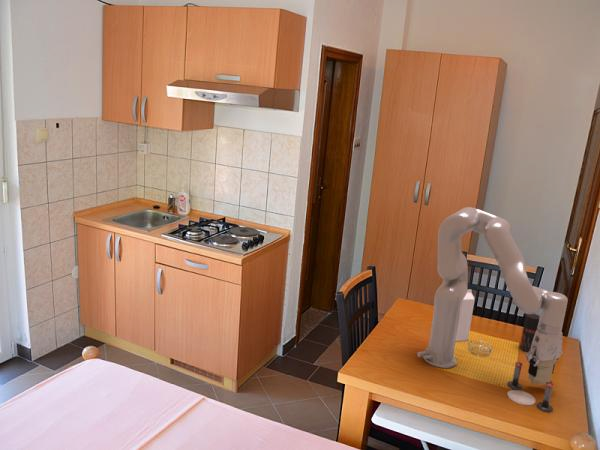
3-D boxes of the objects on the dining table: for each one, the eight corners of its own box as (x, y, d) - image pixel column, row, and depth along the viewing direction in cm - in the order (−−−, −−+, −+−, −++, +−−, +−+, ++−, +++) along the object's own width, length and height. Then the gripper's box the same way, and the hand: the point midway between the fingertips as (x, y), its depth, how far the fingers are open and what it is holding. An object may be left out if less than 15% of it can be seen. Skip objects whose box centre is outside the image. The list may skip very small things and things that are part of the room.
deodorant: (532, 354, 216) (539, 320, 212) (517, 349, 219) (524, 316, 216) (536, 349, 220) (542, 316, 217) (521, 344, 224) (527, 312, 220)
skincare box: (532, 384, 185) (538, 352, 182) (527, 377, 189) (533, 347, 187) (550, 385, 185) (556, 354, 182) (544, 379, 189) (551, 348, 187)
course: (544, 413, 173) (549, 388, 171) (504, 383, 190) (508, 360, 188) (587, 405, 180) (592, 381, 178) (544, 377, 197) (548, 355, 195)
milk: (468, 340, 224) (476, 292, 219) (455, 341, 222) (463, 292, 217) (460, 334, 230) (468, 286, 224) (447, 334, 228) (455, 287, 223)
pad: (520, 407, 175) (520, 405, 175) (501, 392, 184) (502, 391, 184) (541, 403, 179) (541, 402, 179) (521, 389, 187) (522, 388, 187)
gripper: (539, 334, 176) (529, 382, 180) (577, 329, 182) (567, 376, 186) (522, 325, 183) (513, 371, 187) (559, 321, 189) (550, 365, 193)
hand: (540, 373), depth 187 cm, fingers closed on skincare box, 7 cm apart
